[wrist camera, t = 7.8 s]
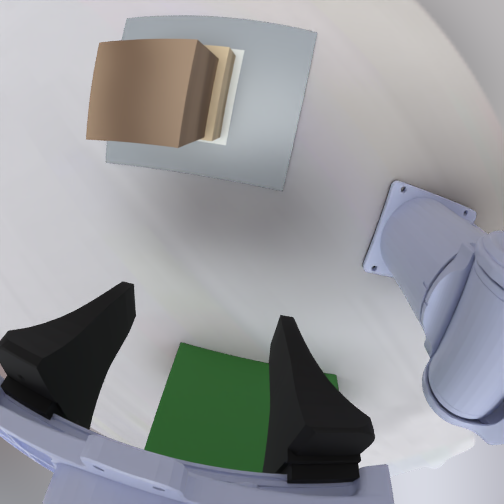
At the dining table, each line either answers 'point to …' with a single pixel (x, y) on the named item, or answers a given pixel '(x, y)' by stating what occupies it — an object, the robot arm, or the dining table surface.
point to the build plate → (235, 100)
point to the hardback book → (214, 410)
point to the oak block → (219, 91)
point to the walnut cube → (151, 91)
